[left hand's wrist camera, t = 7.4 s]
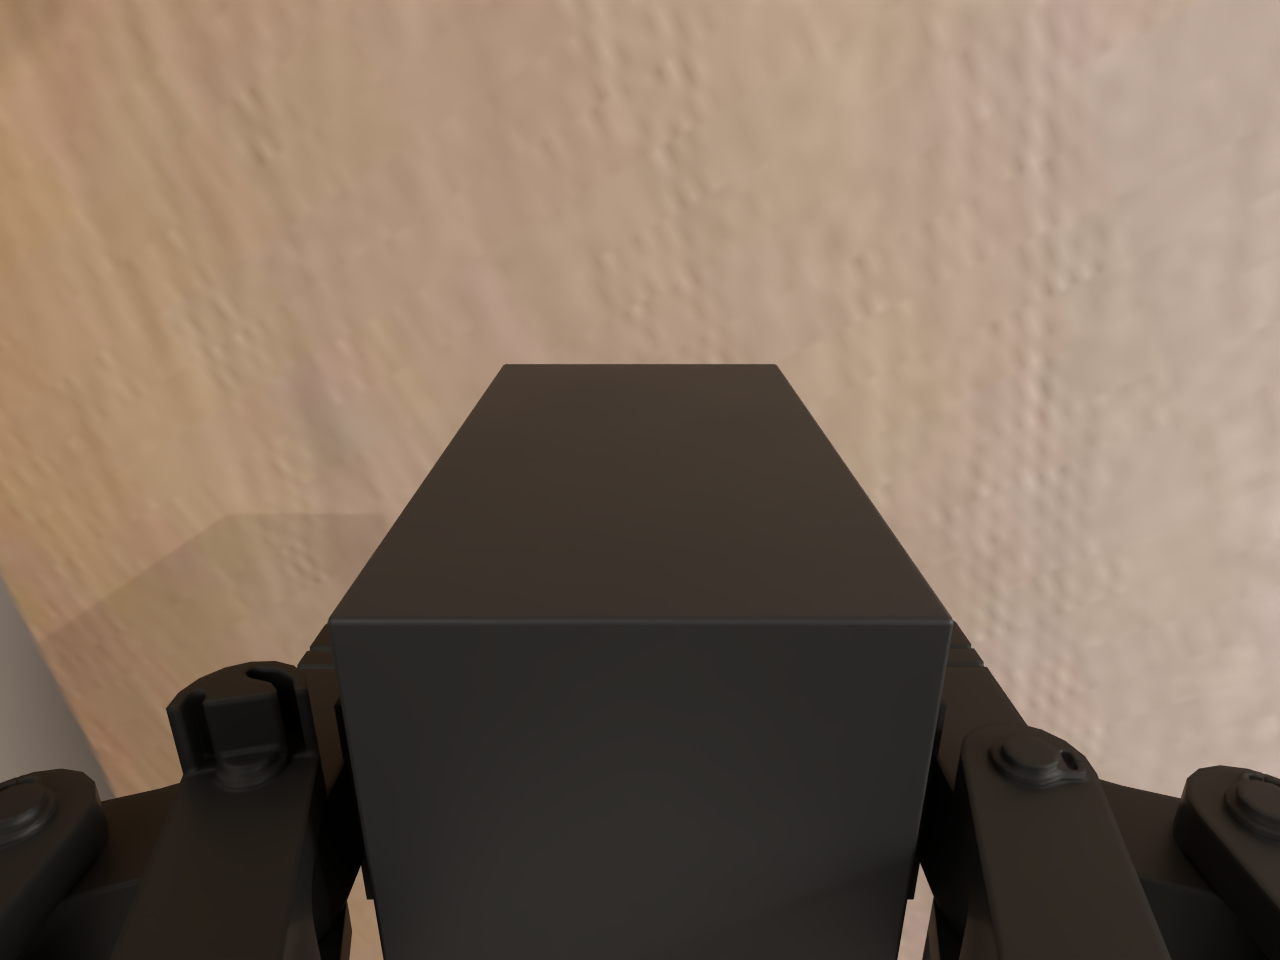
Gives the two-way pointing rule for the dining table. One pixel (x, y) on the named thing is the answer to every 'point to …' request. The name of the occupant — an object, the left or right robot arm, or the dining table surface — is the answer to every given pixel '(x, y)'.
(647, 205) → the dining table surface
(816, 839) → the bar
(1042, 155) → the dining table surface
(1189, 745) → the dining table surface
